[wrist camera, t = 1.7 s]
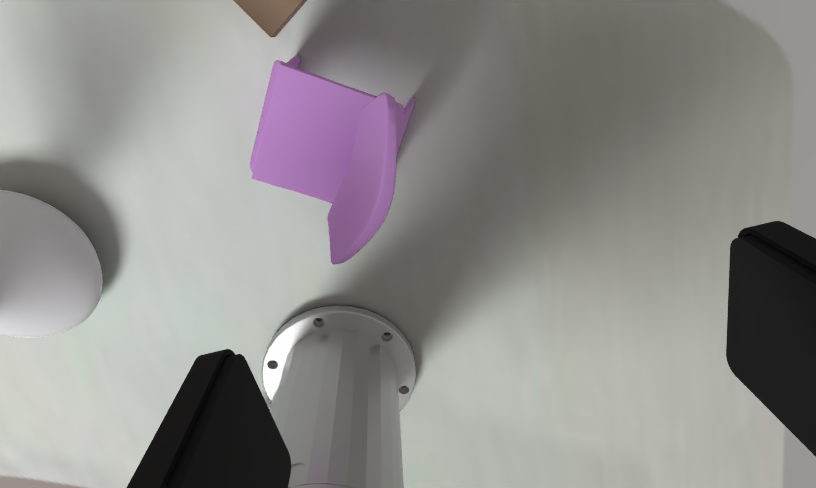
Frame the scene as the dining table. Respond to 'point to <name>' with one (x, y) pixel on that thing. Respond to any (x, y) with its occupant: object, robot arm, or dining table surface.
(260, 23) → the rail board
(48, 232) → the flower in vase
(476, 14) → the dining table surface
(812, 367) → the robot arm
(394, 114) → the toy chair
